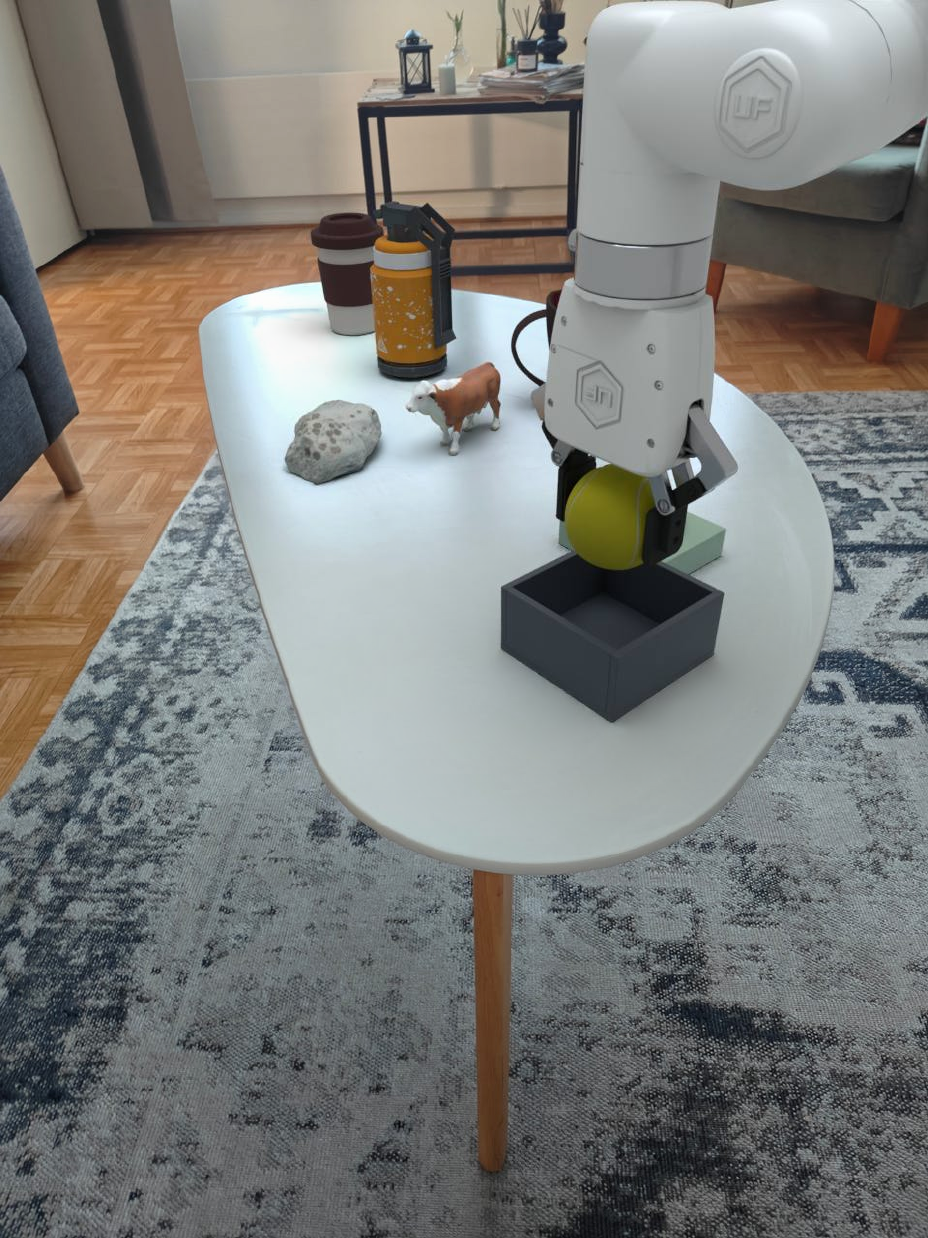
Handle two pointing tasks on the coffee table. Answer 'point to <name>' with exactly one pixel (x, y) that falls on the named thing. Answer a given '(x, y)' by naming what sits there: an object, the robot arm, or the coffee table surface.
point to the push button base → (685, 544)
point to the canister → (412, 291)
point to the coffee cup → (347, 269)
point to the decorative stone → (333, 440)
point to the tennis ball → (609, 517)
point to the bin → (609, 629)
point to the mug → (549, 313)
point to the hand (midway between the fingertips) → (616, 533)
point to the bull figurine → (458, 401)
